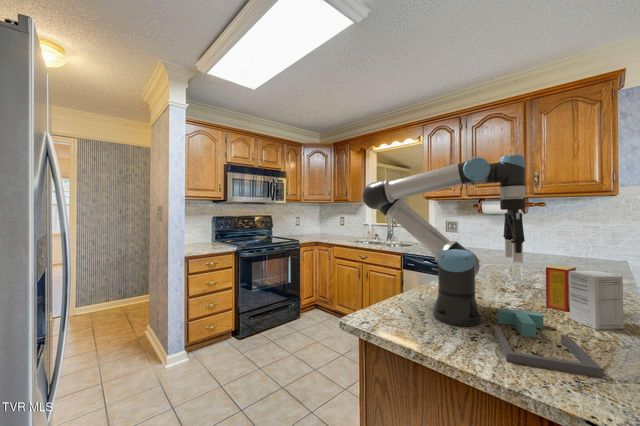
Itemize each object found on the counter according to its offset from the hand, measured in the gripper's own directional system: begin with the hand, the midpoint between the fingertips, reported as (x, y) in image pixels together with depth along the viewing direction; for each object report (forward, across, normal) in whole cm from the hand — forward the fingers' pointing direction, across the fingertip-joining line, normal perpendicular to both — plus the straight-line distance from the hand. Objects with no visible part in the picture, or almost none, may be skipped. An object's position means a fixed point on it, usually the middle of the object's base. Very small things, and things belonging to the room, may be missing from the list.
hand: (513, 259), depth 100 cm
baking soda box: (+20, +18, -19) cm, 33 cm away
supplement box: (+20, +2, -23) cm, 31 cm away
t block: (+20, -12, 0) cm, 24 cm away
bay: (+20, -27, 0) cm, 34 cm away
